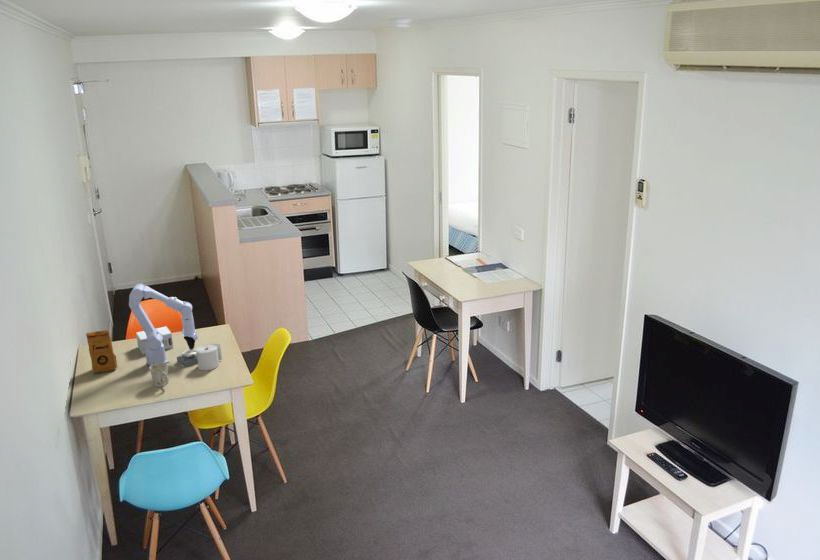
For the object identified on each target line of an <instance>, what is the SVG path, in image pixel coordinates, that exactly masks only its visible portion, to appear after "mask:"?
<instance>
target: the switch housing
mask: <svg viewBox="0 0 820 560" xmlns="http://www.w3.org/2000/svg"><path fill="white" fill-rule="evenodd" d="M193 352H196V350H194V351H193ZM189 353H191V352H189ZM176 362H177V363H178V364H179V365H181V366H182V367H183V368H187V367H191V366H194V365H196V364H197V365H198V361H197V356H195V355H191V356H190V357H187V356H183V355H182V354H180V355H179V356H176Z"/></svg>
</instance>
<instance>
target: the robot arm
mask: <svg viewBox="0 0 820 560" xmlns="http://www.w3.org/2000/svg"><path fill="white" fill-rule="evenodd" d="M128 297H129V298H128V307H129V309H130V310H131V311H132V313H133V315H134V317H135V318H136V320H137V322H138V323H139V324H140V326H141V329H142V331H144V332H145V333H146V337H147V340H148V343H149V347H150V348H149V349H148V350H146V351H145V354H144V355H145V359H146V364H147V365H149V367H150V366H151V365H153V364H155V363H166V364H168V363H169V362H170V360H168V359H167V358H166V357H167V356H166V355H167V354H166V351H165V349H164V344H163V343H162V341H163V335H162V334H161V333H159V332H158V330H157V329H155V326H154V325H153V323H152V321H151V320H150V318H149V317H148V315H147V313H146V311H145V310H144V309H143V307H142V305H141V301H142V299H144V300H146V299H150V298H151V299H154V300H156V301H159V302H161V303H164V304H165V305H166V307H167V308H169V309H172V310H173V311H176V312H179V313H180V315H181V320H182V321H181V323H182V329H181V332H182V334H183V339H184V340H185V341H186V344H187V346H188V349H194V348H195V344H196V341H197V340H199V336H198V335H197V333H198V330H196V328H195V320H194V316H193V305H192V303H190V302H189V301H182V300H180V299H178V297H176V296H170V297H168V296H166V295H165V294H163V293H161V292H158V291H156V290H155V289H153V288H151V287H150V286H148V285H145V284H144V283H137V284H135V285H134V286H133V288H132V289H131V292H130V293H129V296H128Z"/></svg>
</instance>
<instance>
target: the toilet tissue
mask: <svg viewBox="0 0 820 560" xmlns="http://www.w3.org/2000/svg"><path fill="white" fill-rule="evenodd" d="M221 350H222V348H221V344H220V343H211V344H210V343H209V344H203V345H201V346H198V347H197V348H196V350H195V351H196V354H197V361H198V363H197V367H198V369H199V370H202V371H211V370H213V369H216V368H218V367H219V365H220V361H222V360H223V357H222V351H221Z"/></svg>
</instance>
